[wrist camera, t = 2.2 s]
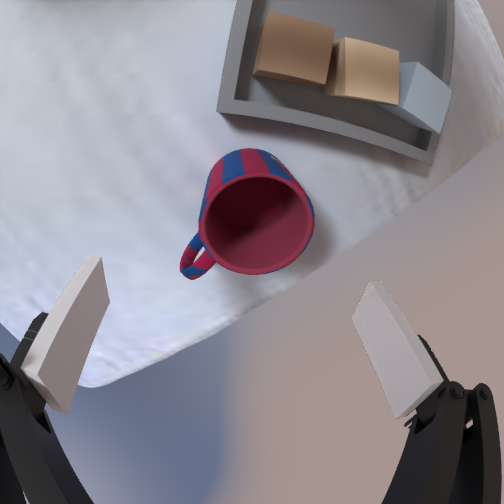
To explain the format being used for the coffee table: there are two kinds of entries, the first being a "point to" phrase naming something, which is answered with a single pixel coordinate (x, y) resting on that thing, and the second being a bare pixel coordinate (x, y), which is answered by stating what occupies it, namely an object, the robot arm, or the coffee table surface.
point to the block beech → (363, 71)
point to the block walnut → (293, 50)
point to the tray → (312, 97)
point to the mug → (250, 217)
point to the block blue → (420, 98)
